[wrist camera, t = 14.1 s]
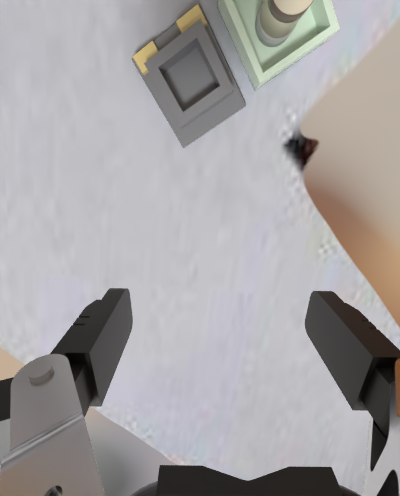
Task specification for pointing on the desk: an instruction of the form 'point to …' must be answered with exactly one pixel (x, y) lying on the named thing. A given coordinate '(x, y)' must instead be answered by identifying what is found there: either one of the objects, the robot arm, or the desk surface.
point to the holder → (189, 77)
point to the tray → (283, 56)
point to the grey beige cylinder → (278, 20)
